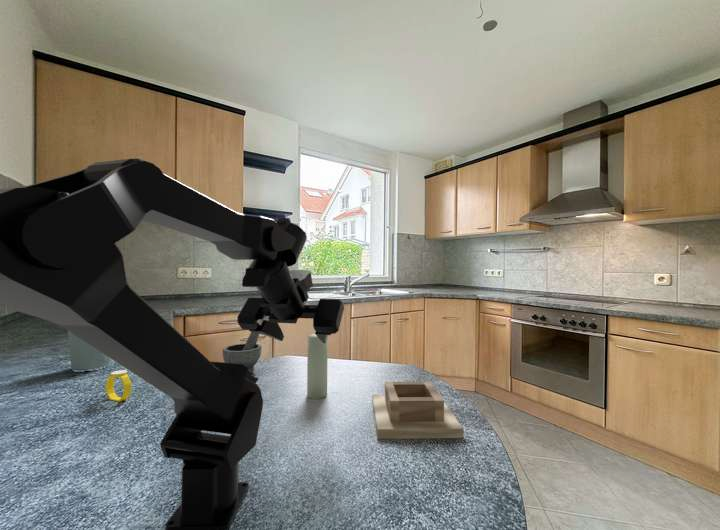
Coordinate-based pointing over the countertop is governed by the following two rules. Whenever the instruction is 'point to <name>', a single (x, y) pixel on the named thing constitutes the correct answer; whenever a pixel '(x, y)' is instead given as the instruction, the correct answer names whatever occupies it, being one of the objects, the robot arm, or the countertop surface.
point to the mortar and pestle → (244, 352)
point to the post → (317, 367)
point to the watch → (110, 383)
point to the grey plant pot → (85, 355)
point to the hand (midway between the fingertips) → (303, 340)
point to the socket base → (413, 413)
